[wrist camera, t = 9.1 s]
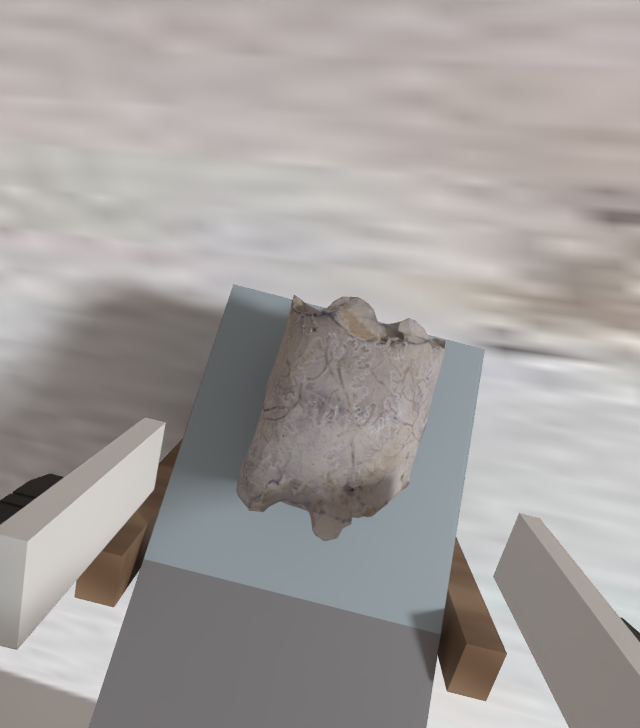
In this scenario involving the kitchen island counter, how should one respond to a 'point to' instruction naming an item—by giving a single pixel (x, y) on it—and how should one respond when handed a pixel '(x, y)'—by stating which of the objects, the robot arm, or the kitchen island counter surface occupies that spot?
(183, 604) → the trapdoor
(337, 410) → the stone
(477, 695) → the frame
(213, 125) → the kitchen island counter surface
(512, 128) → the kitchen island counter surface
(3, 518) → the robot arm
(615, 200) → the kitchen island counter surface
